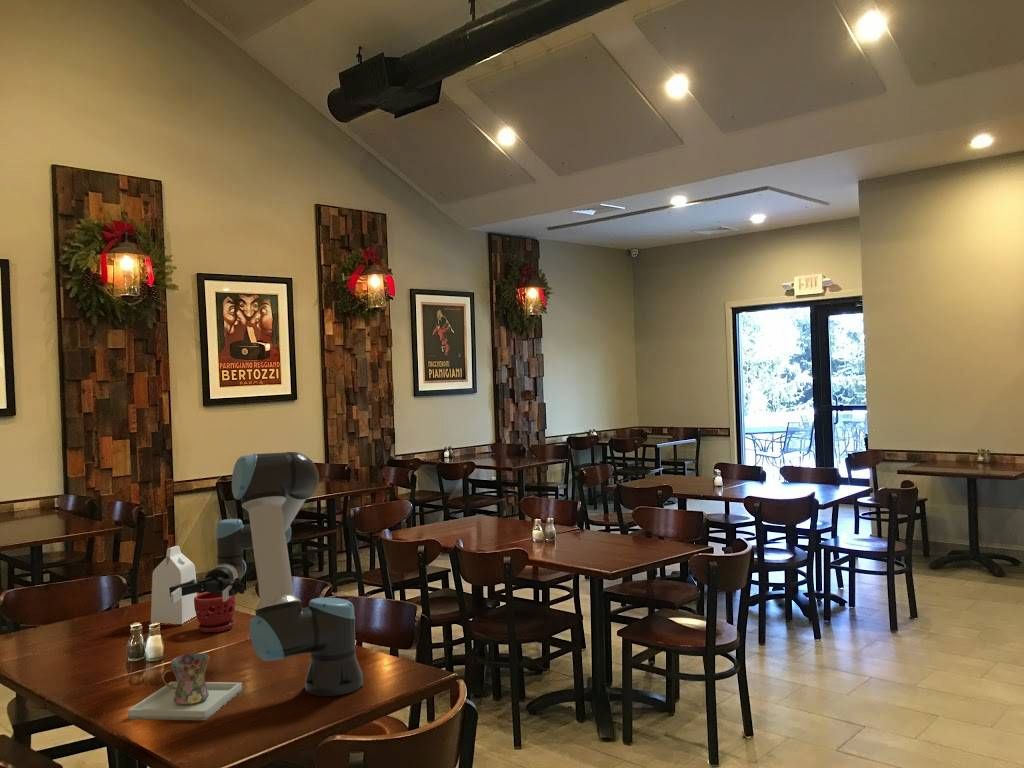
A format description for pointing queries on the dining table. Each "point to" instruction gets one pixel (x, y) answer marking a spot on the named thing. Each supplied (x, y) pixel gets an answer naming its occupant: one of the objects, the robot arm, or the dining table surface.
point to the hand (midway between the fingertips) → (198, 597)
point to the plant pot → (214, 612)
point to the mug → (189, 678)
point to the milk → (169, 575)
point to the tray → (166, 709)
